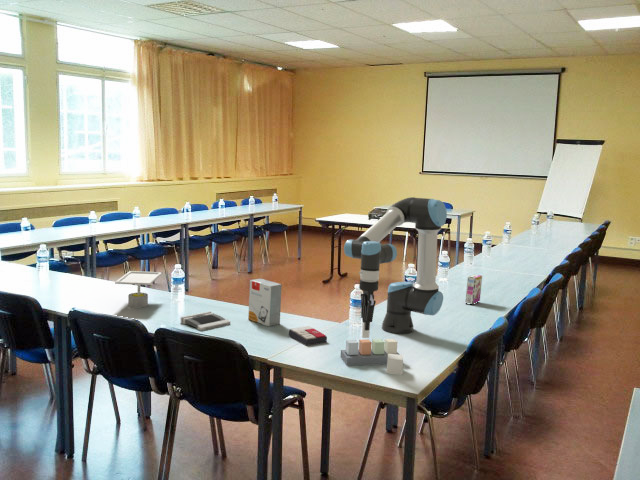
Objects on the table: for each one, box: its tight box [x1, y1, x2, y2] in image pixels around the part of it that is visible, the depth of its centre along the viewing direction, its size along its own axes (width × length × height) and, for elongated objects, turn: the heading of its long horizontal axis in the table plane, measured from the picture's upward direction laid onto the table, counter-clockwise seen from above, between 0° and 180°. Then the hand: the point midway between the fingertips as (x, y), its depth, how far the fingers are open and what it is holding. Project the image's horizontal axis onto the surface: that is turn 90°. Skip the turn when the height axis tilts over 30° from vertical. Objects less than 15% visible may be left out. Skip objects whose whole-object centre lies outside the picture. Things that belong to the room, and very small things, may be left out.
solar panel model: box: [114, 270, 163, 309], centre depth 313 cm, size 28×17×15 cm, turn 2°
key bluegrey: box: [345, 339, 359, 355], centre depth 244 cm, size 4×4×5 cm
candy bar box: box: [465, 274, 483, 304], centre depth 353 cm, size 11×5×16 cm, turn 144°
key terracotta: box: [358, 338, 372, 355], centre depth 245 cm, size 4×4×5 cm
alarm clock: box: [180, 311, 231, 332], centre depth 286 cm, size 17×5×16 cm
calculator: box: [288, 325, 328, 346], centre depth 270 cm, size 11×4×15 cm
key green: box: [371, 338, 385, 354], centre depth 246 cm, size 4×4×5 cm
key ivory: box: [384, 338, 398, 354], centre depth 247 cm, size 4×4×5 cm
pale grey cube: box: [386, 354, 404, 376], centre depth 235 cm, size 6×6×6 cm
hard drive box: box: [247, 278, 283, 327], centre depth 293 cm, size 16×8×20 cm, turn 47°
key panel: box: [340, 348, 401, 366], centre depth 246 cm, size 23×10×3 cm, turn 102°
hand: (365, 337), depth 244 cm, fingers closed
